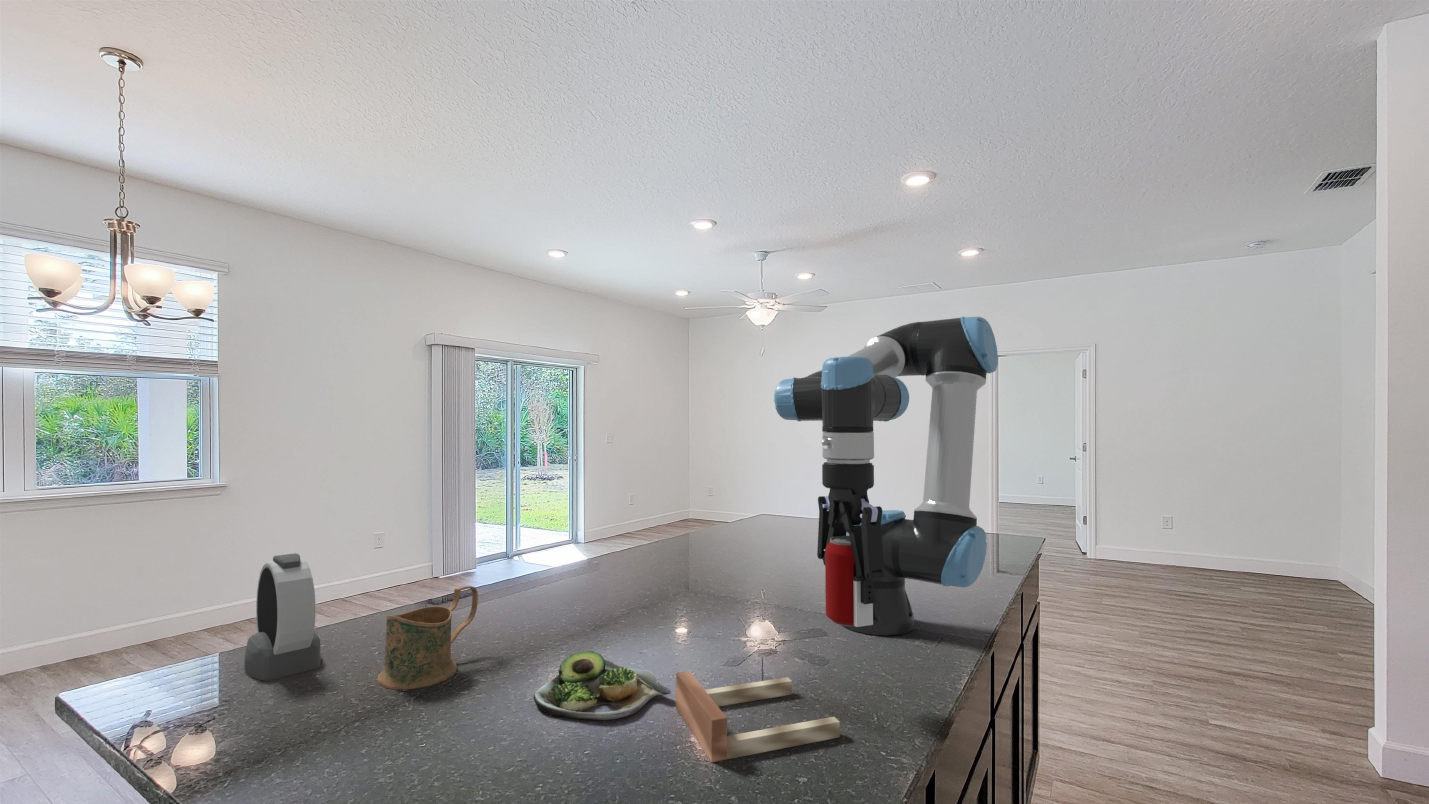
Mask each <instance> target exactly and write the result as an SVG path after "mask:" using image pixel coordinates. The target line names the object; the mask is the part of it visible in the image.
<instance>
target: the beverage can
mask: <svg viewBox="0 0 1429 804" xmlns="http://www.w3.org/2000/svg"><path fill="white" fill-rule="evenodd" d="M824 551H825V565H824V570H825V571H824V572H825V575H824V576H825V577H824V578H825V586H824V587H825V588H824V590H825V615H826V617H827V618H828V619H829V620H831V621H832V622H833V623H835V624H837V625H839V626H843V625H844V626H854V582H853V577H857V573H856V568H855V563H854V557H853V552H852V547H851V542H850V537H849V536H834V537H831V538H830V542H829V543H828V545H827V547H826V549H824ZM844 626H843V627H844Z"/></svg>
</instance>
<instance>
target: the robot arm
mask: <svg viewBox="0 0 1429 804" xmlns="http://www.w3.org/2000/svg"><path fill="white" fill-rule="evenodd" d="M995 337H996V336H995V333H994V331H993V329H992V326H991V324H990V322H989V321H988V320H987V319H986V318H984V317H981V316H961V317H956V318H945V319H936V320H927V321H915V322H910V323H907V324H903V325H900V326H897V327H896V328H892V329H890V330H888V331H885V332H884V333H882V334H879V335H876V336H875V337H873V338H871V339H870V340H869V341H867V343H866V344H865V345H864V346H863V348H862V349H860V350H858V351H856V352H854V353H852V354H850V355H848V356H837V357H836V356H835V357H829V358H827V359H825V361H824V362H823V363H822V369H820V370H817V371H816V372H814V373H811V374H808V375H807V376H804V377H792V378H786V379H783V380H781V381H780V382H779V383H778V384H777V386H776V388H775V390H774V396H773V402H774V407H775V410H776V413H777V414H778V416H779V417H780V418H782V419H783V420H787V421H797V422H806V421H807V422H808V421H811V422H812V421H813V422H815V421H818V422H819V421H820V422H821V421H822V422H821V423H822V426H821V427H822V428H821V429H822V439H821V441H820V442H821V445H822V452H821V453H822V458H823V459H825V460H826V461H824V462H823V464H822V465H821V467H822V468H821V471H822V472H821V474H822V475H821V477H822V478H821V480H822V481H821V483H822V485H823V487H824V488H827V489H829V491H828V492H829V493H828V495H827V496H826V495H825V496H824V495H823V496H822V495H821V496H818V497H817V503H818V511H819V512H818V528H817V529H818V532H817V548H816V549H817V553H816V555H817V558H818V559H819V560H822V563H823V565H824V566H825V549H826V547H827V545H828V543H829V542H830V538H831V537H834V536H849V537H850V542H851V547H852V552H853V557H854V563H855V568H856V573H857V577H853V582H854V626H844V625H842V627H844V628H846V629H848V630H851V631H854V632H858V633H862V634H867V635H874V636H899V635H904V634H907V633H910V632H912V631H913V630H914V628H915V615H914V613H913V609H912V606H911V603H910V602H911V601H910V600H909V596H908V593H907V591H906V579H907V580H908V579H909V580H914V581H920V582H925V583H931V584H937V585H941V586H943V587H954V588H955V587H957V588H968V587H970V586H972V585H974V583H975V582H976V581H977V580H978V578H979V577H980V575H981V572H982V570H983V567H984V564H985V560H986V554H987V549H988V548H987V534H986V531H985V530H984V528H983V527H981V526H979V525H977V524H978V518H977V516H976V515H975V514H974V512H973V511H972V510H971V508H970V502H971V501H970V500H971V487H972V486H971V485H972V469H973V459H974V458H973V456H974V455H973V454H974V442H975V441H974V440H975V427H976V410H977V399H978V395H977V394H978V390H981V388H983V387H984V386H985V385H986V384H987V374H992V373H994V372H995V371H997V368H998V364H999V356H998V347H997V343H996V338H995ZM907 376H909V377H911V376H912V377H913V376H914V377H915V376H917V377H918V376H922V377H923V376H925V382H926V383H927V384H928V385H929V386H930V387H931V389H932V391H931V400H930V401H931V402H930V414H929V424H928V425H929V426H928V436H927V438H928V439H927V449H926V460H925V461H926V463H925V474H924V485H923V497H922V503H921V504H919V506H917V507H916V508H915V509H914V510H913V519H908V518H906V517H907V515H906V513H905V512H904V510H898V509H897V510H896V509H895V510H894V509H888V510H887V509H886V510H883V508H882V507H881V506H873V505H872V504H870V500H869V495H868V490H869V489H870V490H871V489H872V488H873V487H874V486H875V468H874V467H875V465H874V464H873V462H871V460H873V459H874V458H875V437H874V435H875V432H874V422H885V423H886V422H890V421H892V420H896V419H897V418H900V417H901V416H902V415H903V414H904V413H905V412H906V410H907V409H908V406H909V404H910V393H909V389H908V387H907V385H906V384H905V383H904V382H903V381H902V380H901V379H899V378H897V377H907Z"/></svg>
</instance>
